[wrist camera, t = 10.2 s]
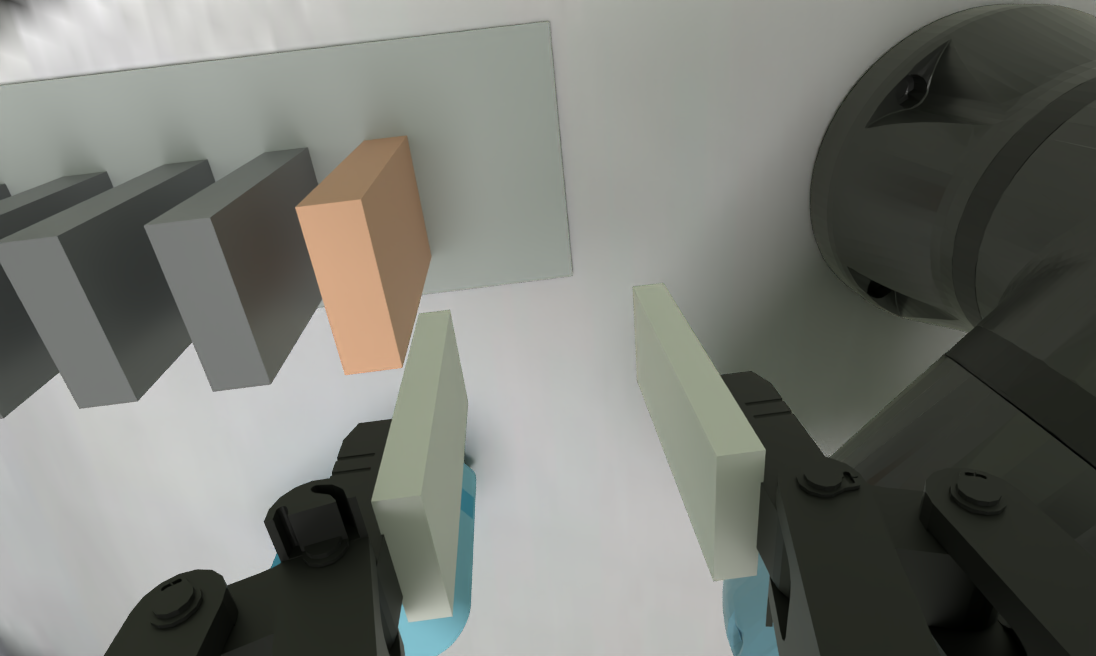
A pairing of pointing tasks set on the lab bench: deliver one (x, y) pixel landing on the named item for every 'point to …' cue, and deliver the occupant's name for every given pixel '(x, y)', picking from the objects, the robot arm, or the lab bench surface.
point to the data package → (441, 633)
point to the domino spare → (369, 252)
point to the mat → (337, 134)
